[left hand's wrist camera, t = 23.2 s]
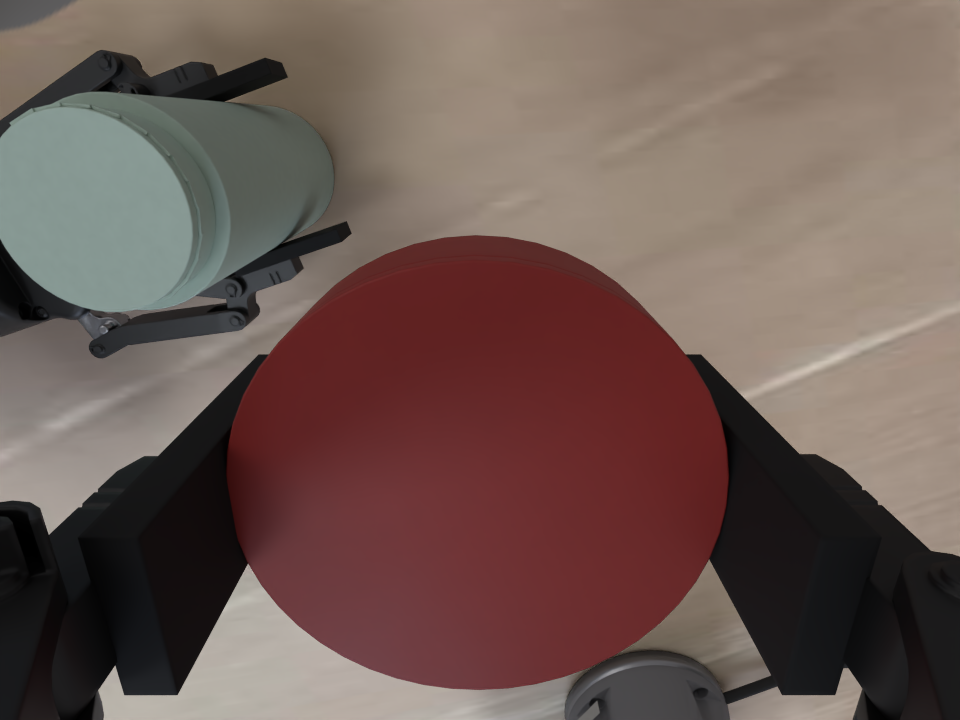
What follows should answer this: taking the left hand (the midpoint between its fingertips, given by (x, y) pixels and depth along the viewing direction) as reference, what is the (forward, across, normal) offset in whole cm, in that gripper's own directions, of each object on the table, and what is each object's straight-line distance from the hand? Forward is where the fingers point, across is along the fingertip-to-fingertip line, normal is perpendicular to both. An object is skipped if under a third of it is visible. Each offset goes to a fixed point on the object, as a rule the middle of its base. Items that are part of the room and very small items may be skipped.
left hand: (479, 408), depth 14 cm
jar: (+28, +14, -4) cm, 32 cm away
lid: (-4, 0, 0) cm, 4 cm away
